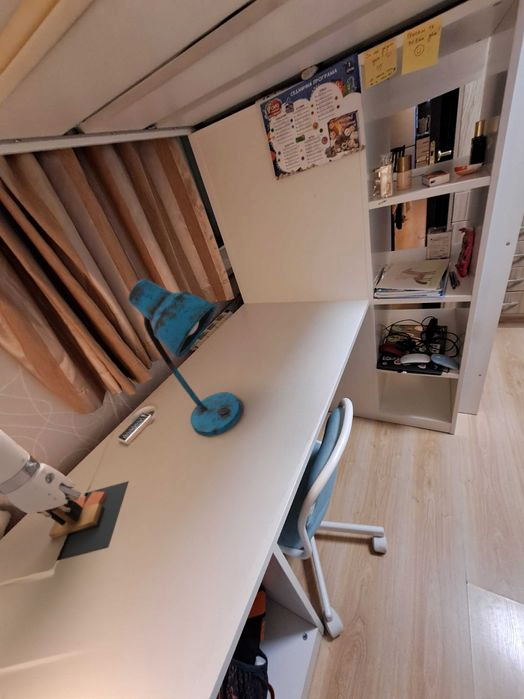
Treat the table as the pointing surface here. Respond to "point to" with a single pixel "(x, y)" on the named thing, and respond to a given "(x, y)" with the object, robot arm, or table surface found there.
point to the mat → (99, 535)
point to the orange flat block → (82, 501)
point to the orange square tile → (95, 498)
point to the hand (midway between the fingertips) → (72, 516)
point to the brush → (86, 521)
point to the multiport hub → (135, 428)
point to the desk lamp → (184, 346)
